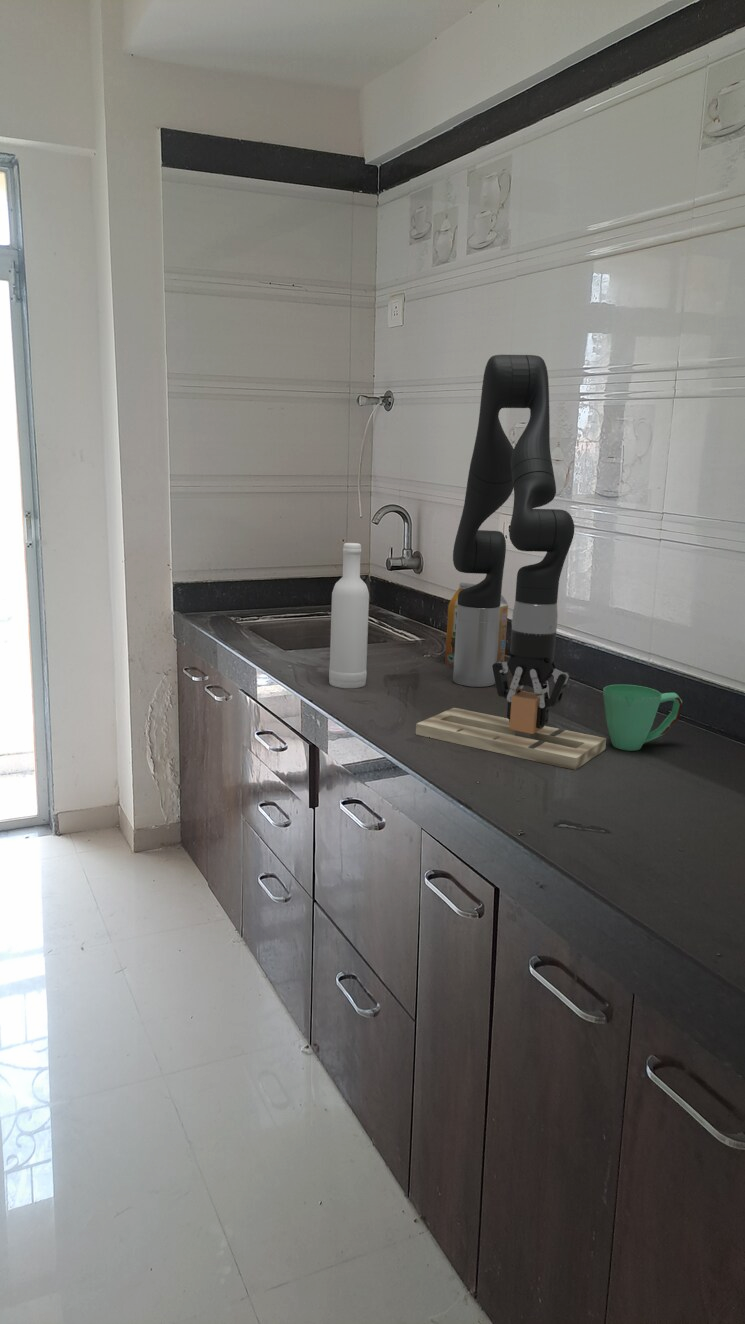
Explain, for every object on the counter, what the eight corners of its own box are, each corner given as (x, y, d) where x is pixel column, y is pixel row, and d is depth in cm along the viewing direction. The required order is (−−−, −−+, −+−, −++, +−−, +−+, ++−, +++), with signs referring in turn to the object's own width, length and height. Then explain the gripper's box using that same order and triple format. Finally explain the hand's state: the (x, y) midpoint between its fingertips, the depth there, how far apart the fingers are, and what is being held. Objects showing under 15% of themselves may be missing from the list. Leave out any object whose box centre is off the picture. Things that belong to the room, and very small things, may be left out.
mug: (615, 756, 161) (620, 699, 159) (588, 739, 171) (593, 685, 168) (691, 752, 165) (697, 697, 163) (661, 735, 174) (666, 683, 172)
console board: (453, 717, 181) (453, 707, 180) (605, 749, 165) (606, 737, 165) (415, 734, 169) (416, 723, 169) (575, 770, 154) (576, 757, 153)
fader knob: (518, 738, 169) (522, 690, 167) (542, 743, 166) (545, 694, 164) (508, 744, 165) (511, 695, 163) (531, 749, 163) (535, 699, 161)
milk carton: (504, 662, 230) (509, 584, 226) (485, 670, 222) (490, 589, 217) (465, 656, 236) (469, 580, 232) (445, 663, 227) (449, 584, 223)
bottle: (344, 690, 198) (349, 546, 191) (321, 682, 204) (325, 542, 197) (373, 685, 203) (379, 544, 196) (349, 678, 209) (354, 541, 202)
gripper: (582, 630, 160) (573, 727, 164) (505, 619, 168) (498, 712, 172) (565, 637, 154) (556, 737, 158) (486, 625, 162) (479, 721, 166)
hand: (526, 724), depth 165 cm, fingers closed on fader knob, 4 cm apart
